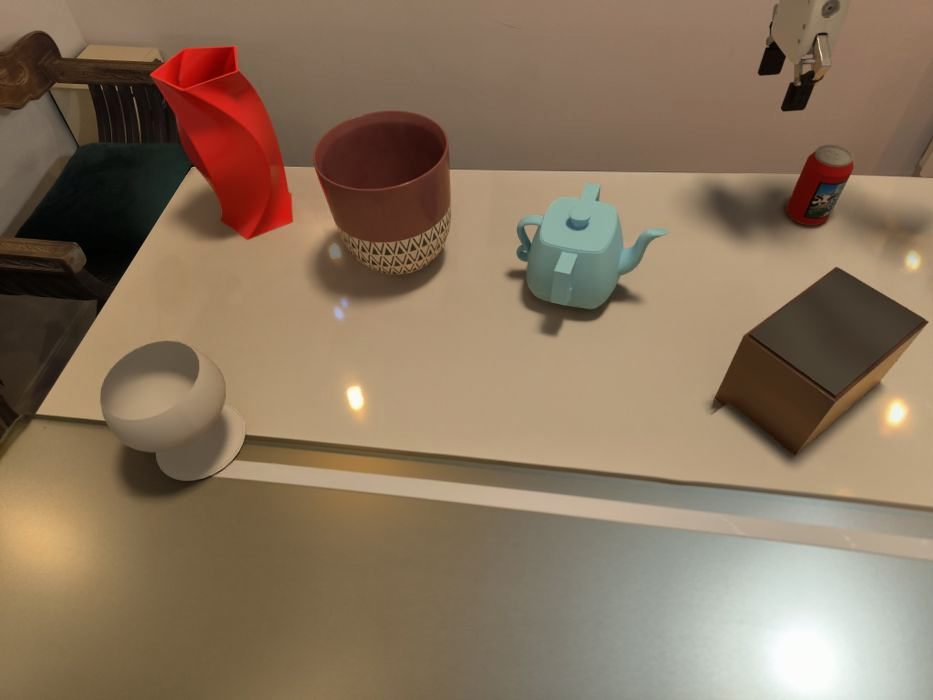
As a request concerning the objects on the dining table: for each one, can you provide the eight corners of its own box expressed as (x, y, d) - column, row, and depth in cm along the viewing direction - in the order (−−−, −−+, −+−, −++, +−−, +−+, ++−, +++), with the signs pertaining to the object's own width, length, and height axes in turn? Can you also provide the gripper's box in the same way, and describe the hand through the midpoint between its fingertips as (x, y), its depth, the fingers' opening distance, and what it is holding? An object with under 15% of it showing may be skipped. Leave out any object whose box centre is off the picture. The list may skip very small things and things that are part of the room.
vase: (310, 194, 116) (262, 47, 94) (279, 245, 107) (218, 96, 85) (239, 187, 119) (175, 42, 97) (203, 236, 110) (125, 90, 88)
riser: (797, 334, 88) (837, 264, 77) (875, 387, 82) (931, 319, 71) (713, 398, 82) (744, 333, 71) (790, 461, 76) (837, 400, 65)
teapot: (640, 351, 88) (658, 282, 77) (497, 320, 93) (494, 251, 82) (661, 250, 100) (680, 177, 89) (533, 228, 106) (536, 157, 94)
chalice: (273, 438, 83) (232, 375, 71) (181, 509, 77) (121, 453, 65) (220, 382, 89) (175, 315, 78) (132, 443, 84) (69, 381, 72)
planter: (326, 287, 100) (287, 178, 83) (373, 212, 111) (348, 103, 94) (436, 310, 95) (419, 200, 79) (474, 229, 107) (466, 118, 90)
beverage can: (813, 234, 100) (844, 173, 91) (776, 215, 104) (802, 154, 94) (834, 215, 103) (867, 154, 94) (797, 197, 106) (825, 136, 97)
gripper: (892, -16, 68) (830, 123, 82) (830, -71, 79) (785, 60, 92) (824, -10, 69) (774, 127, 82) (772, -66, 79) (735, 63, 93)
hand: (779, 91), depth 87 cm, fingers open, 9 cm apart
